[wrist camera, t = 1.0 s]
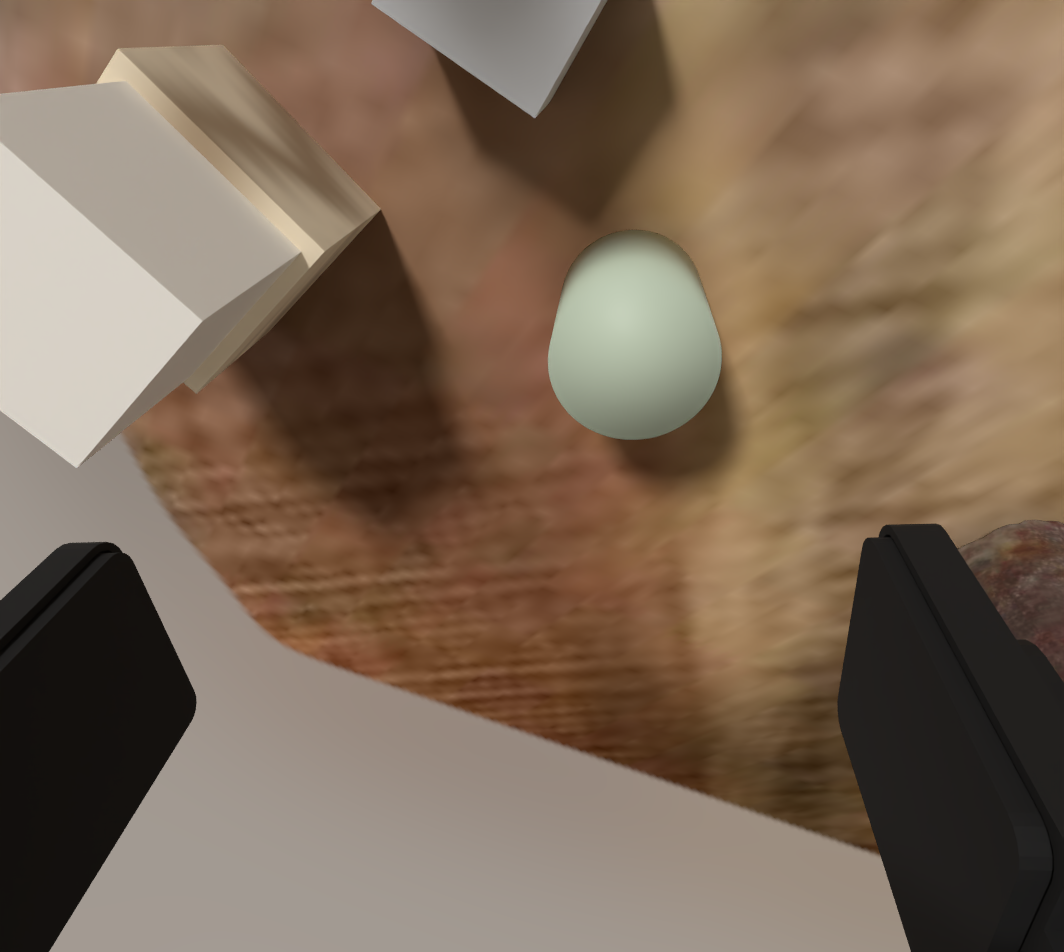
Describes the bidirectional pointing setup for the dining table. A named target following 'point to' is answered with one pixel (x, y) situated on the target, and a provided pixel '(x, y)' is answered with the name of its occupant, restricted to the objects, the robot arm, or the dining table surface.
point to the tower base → (251, 170)
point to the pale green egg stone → (633, 338)
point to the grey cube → (504, 40)
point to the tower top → (114, 261)
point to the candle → (1025, 581)
